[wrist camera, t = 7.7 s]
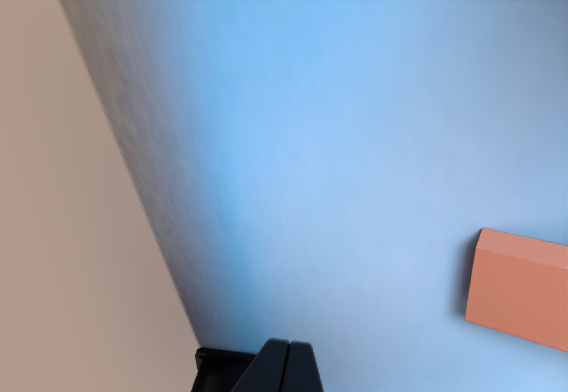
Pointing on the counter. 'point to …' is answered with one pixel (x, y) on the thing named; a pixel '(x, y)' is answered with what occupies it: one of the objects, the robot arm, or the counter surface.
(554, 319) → the domino
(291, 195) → the counter surface
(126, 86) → the counter surface
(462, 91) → the counter surface
